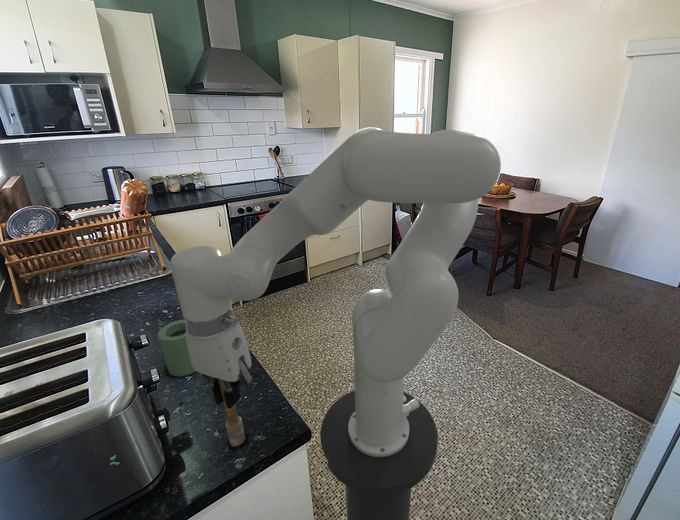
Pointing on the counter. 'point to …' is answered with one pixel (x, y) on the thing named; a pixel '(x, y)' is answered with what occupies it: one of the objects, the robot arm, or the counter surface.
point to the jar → (175, 348)
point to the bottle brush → (232, 422)
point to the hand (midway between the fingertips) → (228, 400)
